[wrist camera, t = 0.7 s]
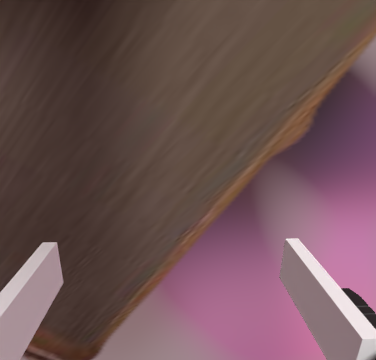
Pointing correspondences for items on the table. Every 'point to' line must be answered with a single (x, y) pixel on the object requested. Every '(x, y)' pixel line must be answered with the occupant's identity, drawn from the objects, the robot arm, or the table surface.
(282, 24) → the table surface
